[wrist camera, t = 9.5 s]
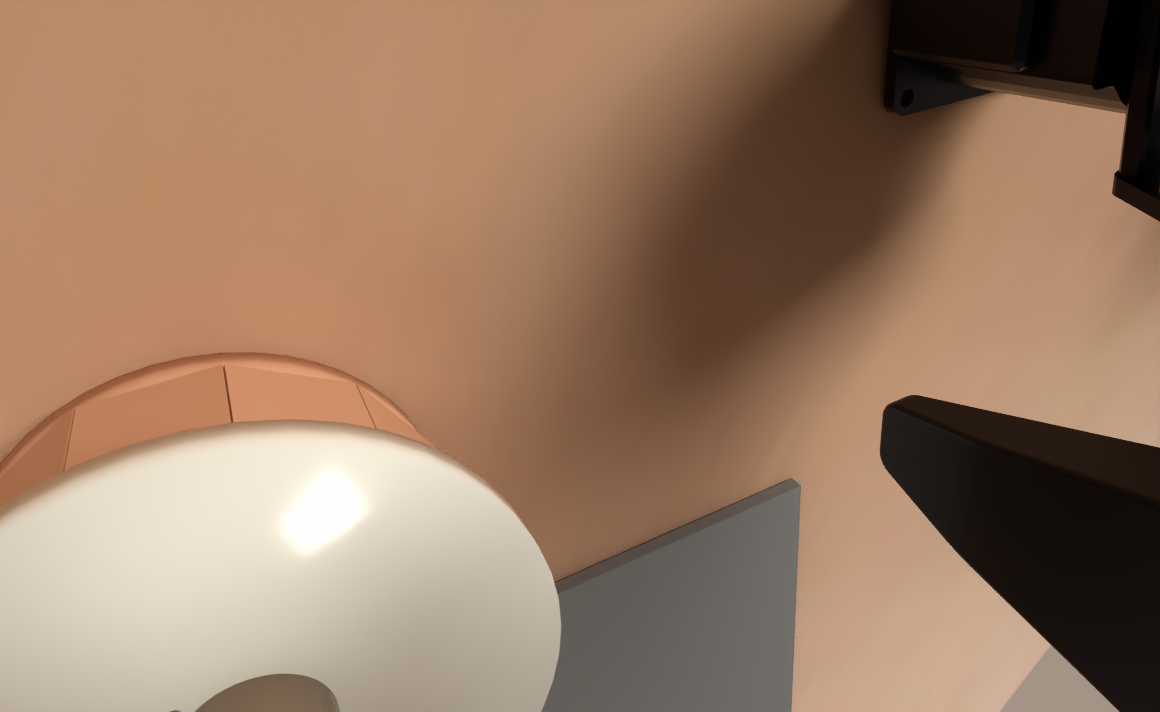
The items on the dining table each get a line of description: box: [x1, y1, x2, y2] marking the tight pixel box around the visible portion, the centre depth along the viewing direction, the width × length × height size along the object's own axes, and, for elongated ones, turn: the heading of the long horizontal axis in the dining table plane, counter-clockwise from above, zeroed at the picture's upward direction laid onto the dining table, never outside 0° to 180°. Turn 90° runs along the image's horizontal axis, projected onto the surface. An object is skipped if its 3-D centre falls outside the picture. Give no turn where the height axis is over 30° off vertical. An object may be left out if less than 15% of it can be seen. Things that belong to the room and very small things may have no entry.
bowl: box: [0, 353, 437, 506], centre depth 18 cm, size 11×11×5 cm
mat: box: [541, 479, 801, 712], centre depth 30 cm, size 14×14×1 cm
